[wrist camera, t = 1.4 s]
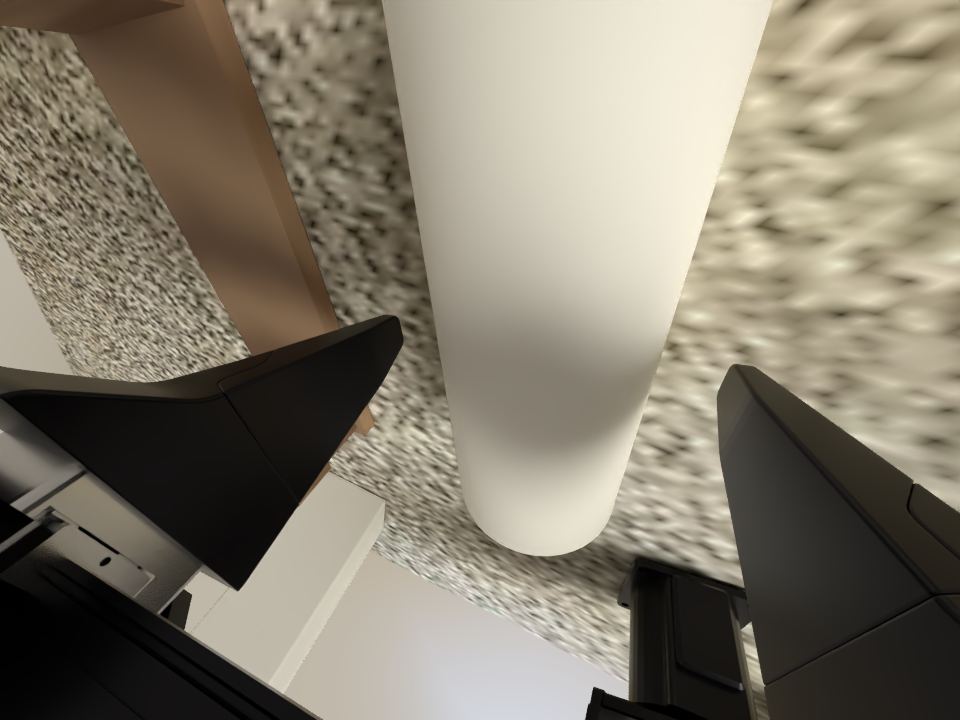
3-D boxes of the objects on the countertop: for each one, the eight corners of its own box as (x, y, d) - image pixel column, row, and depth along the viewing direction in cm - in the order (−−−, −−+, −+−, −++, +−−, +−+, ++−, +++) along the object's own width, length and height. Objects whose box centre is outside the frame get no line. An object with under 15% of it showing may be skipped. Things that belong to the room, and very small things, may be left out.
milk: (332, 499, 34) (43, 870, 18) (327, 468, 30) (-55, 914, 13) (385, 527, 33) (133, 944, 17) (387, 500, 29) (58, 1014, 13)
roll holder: (374, 424, 22) (302, 512, 18) (295, 402, 25) (211, 476, 20) (180, -117, 9) (-294, -341, 5) (50, -59, 12) (-363, -170, 7)
